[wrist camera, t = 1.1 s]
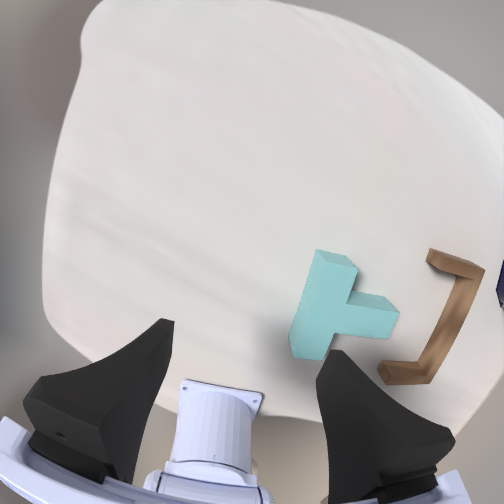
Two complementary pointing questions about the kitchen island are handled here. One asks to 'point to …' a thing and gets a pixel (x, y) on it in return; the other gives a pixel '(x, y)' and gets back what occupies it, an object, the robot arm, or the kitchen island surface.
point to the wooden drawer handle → (439, 323)
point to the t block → (336, 308)
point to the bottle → (501, 287)
